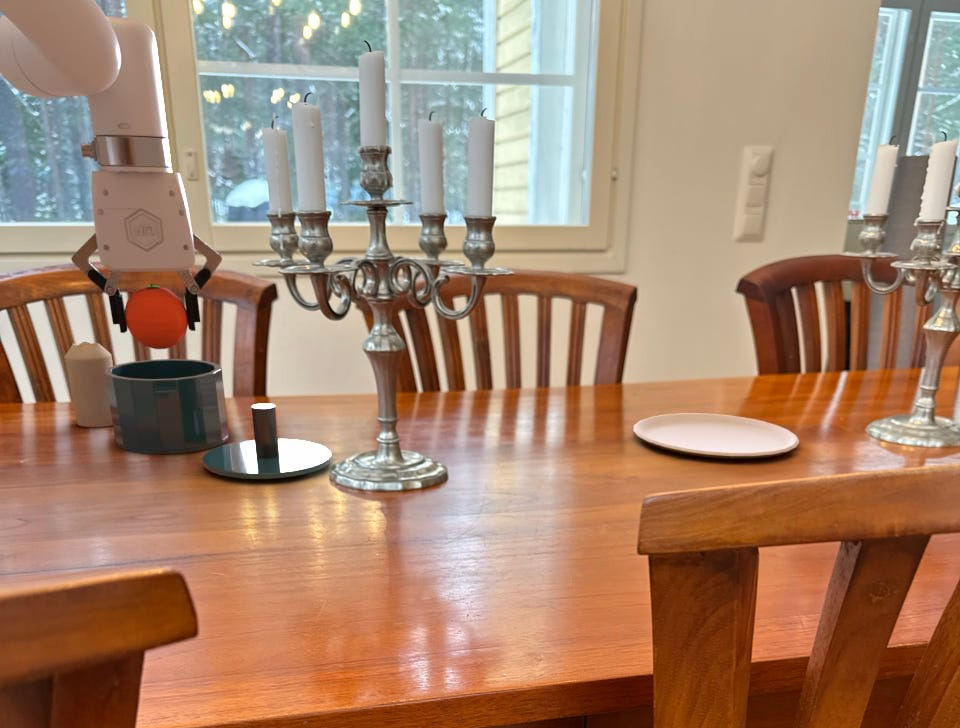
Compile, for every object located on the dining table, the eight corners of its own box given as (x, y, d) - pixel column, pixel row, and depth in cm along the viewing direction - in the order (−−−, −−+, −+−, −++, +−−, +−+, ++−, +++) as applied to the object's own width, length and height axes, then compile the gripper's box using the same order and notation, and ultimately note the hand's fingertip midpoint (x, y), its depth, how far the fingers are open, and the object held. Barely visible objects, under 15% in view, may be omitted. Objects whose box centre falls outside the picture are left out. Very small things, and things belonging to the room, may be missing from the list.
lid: (207, 489, 94) (199, 425, 90) (200, 452, 105) (193, 395, 102) (342, 478, 98) (339, 417, 94) (321, 445, 110) (317, 389, 106)
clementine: (133, 343, 108) (123, 280, 105) (193, 341, 110) (185, 279, 106) (127, 354, 101) (116, 287, 98) (190, 353, 103) (182, 287, 99)
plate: (669, 467, 104) (670, 456, 103) (609, 423, 122) (610, 414, 121) (830, 460, 108) (832, 450, 107) (750, 419, 126) (751, 410, 125)
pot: (114, 464, 101) (101, 387, 97) (118, 424, 116) (107, 357, 112) (234, 456, 104) (226, 382, 101) (223, 419, 120) (216, 353, 116)
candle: (77, 429, 114) (62, 347, 109) (76, 419, 118) (61, 340, 114) (123, 425, 116) (110, 345, 111) (120, 416, 120) (107, 338, 116)
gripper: (42, 154, 91) (76, 337, 99) (219, 159, 96) (237, 332, 104) (49, 155, 97) (80, 327, 105) (215, 159, 102) (232, 323, 110)
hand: (158, 328), depth 104 cm, fingers closed on clementine, 7 cm apart
